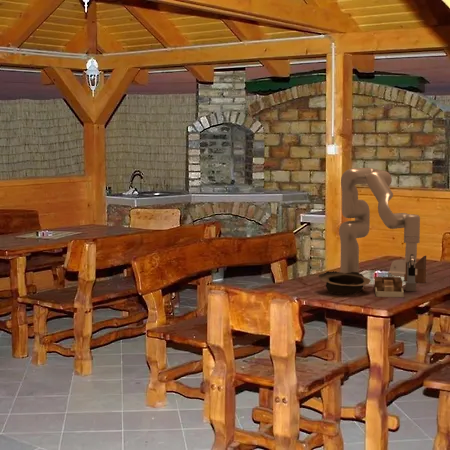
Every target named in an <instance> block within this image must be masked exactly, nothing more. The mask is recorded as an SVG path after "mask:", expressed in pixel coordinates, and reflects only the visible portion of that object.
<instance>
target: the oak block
mask: <svg viewBox="0 0 450 450" xmlns="http://www.w3.org/2000/svg"><path fill="white" fill-rule="evenodd" d="M385 285H391V286H393V280H384V292H385Z"/></svg>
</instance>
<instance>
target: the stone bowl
mask: <svg viewBox="0 0 450 450" xmlns="http://www.w3.org/2000/svg"><path fill="white" fill-rule="evenodd" d="M318 278H319V279H320V280H321V282H325V288H326V291H327V292H328V293H329V294H338V295H341V296H346V295H348V296H350V295H356V294H357V293H359V292H361V291H362V290H363V288H364V286H367V285H370V283H371V279H370V278H367V277H365V276H364V275H363V274H362V273H361V272H359V273H358V272H351V273H340V271H335V270H333V271H325V272H323V273H320V274H318Z"/></svg>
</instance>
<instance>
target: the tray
mask: <svg viewBox="0 0 450 450" xmlns="http://www.w3.org/2000/svg"><path fill="white" fill-rule="evenodd" d="M374 294H375V298H376V297H378V298H404V297H405V292H404V288H403V287H402V288H401V292H384V291H377V287H375V288H374Z"/></svg>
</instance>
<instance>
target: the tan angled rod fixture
mask: <svg viewBox="0 0 450 450" xmlns="http://www.w3.org/2000/svg"><path fill="white" fill-rule="evenodd" d="M415 269H417V275H416V274H415V282H416V283H419V284H420V283H421V284H424V283H426V282H427V281H426V280H427V279H426V278H427V255H423V256H422V257H421V258H420V259H419V260H418V261H416V264H415ZM403 281H404V282H407V263H406V271H405V274H404V277H403Z"/></svg>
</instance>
